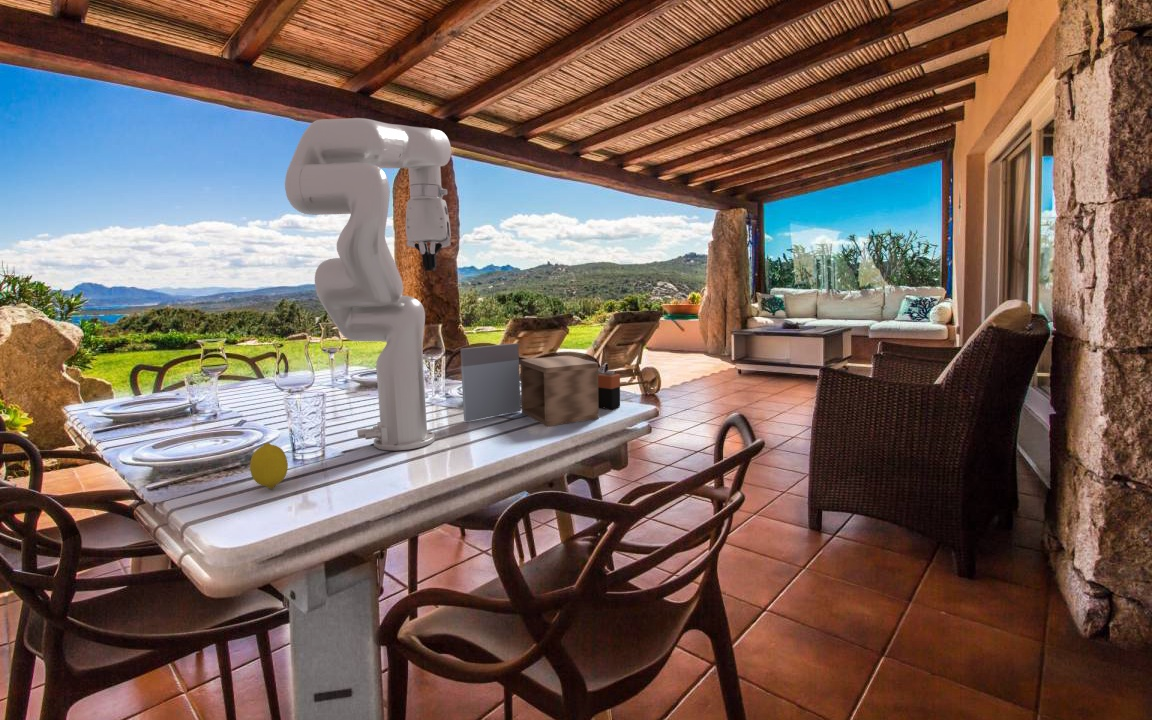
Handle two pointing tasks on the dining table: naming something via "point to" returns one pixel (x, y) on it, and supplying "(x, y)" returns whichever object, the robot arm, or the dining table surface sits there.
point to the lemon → (268, 465)
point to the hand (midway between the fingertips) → (430, 270)
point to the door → (490, 381)
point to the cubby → (559, 389)
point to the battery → (608, 390)
